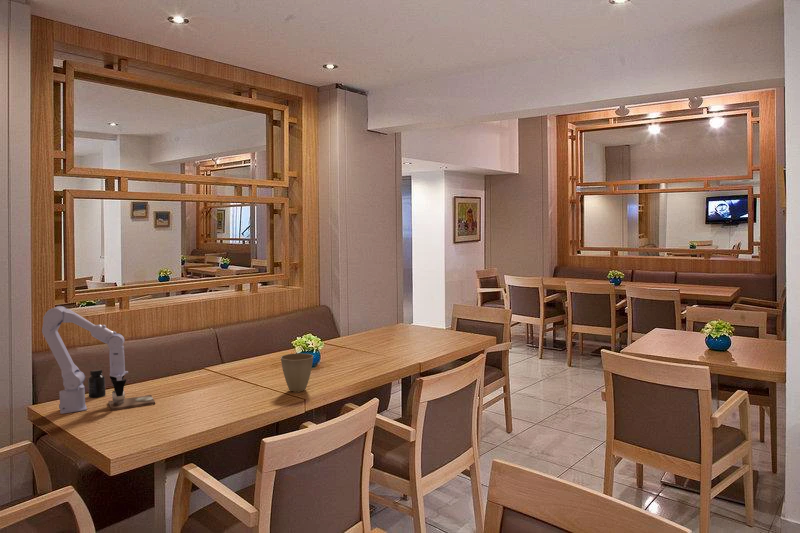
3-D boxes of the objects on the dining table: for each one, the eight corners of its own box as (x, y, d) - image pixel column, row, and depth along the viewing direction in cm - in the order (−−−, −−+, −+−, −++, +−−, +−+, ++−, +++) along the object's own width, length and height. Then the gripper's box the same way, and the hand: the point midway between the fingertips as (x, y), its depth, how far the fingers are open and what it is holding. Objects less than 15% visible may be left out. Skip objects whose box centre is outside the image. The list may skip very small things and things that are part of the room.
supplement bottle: (108, 396, 254) (107, 370, 253) (91, 399, 249) (90, 372, 248) (102, 393, 259) (101, 367, 258) (86, 396, 254) (85, 370, 253)
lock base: (111, 410, 231) (110, 403, 231) (108, 403, 242) (108, 396, 242) (155, 404, 240) (154, 397, 240) (150, 396, 251) (150, 390, 251)
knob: (112, 400, 235) (112, 392, 235) (111, 398, 239) (111, 390, 239) (125, 399, 238) (125, 390, 238) (124, 396, 242) (123, 388, 242)
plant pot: (292, 396, 249) (291, 361, 248) (275, 390, 260) (274, 356, 259) (320, 390, 258) (319, 356, 258) (303, 384, 270) (302, 351, 269)
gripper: (129, 364, 234) (130, 396, 234) (125, 358, 246) (127, 388, 247) (110, 366, 230) (112, 399, 231) (107, 360, 242) (109, 391, 243)
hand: (118, 393), depth 238 cm, fingers open, 7 cm apart
